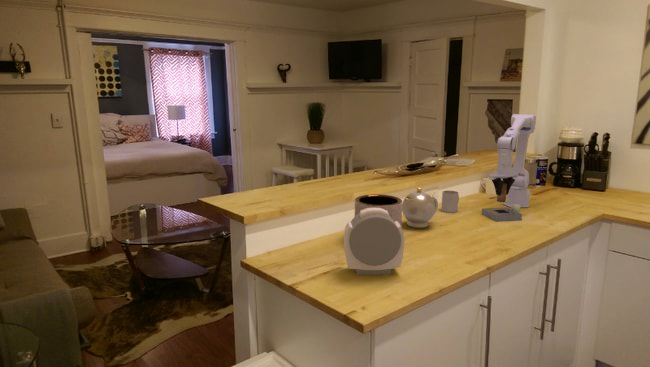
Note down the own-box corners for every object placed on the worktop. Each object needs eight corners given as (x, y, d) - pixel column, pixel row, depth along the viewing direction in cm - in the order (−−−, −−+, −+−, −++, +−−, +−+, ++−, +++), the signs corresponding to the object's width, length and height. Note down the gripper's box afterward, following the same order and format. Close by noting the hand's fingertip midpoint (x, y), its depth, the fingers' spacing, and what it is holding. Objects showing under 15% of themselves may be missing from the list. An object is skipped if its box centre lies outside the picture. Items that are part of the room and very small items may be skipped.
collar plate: (505, 212, 203) (506, 207, 203) (521, 220, 192) (522, 214, 191) (481, 213, 201) (482, 208, 201) (496, 221, 190) (496, 215, 189)
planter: (363, 250, 156) (364, 207, 153) (347, 234, 173) (348, 195, 170) (409, 245, 161) (411, 203, 158) (389, 230, 178) (390, 192, 174)
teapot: (414, 233, 174) (416, 192, 171) (393, 224, 186) (394, 186, 182) (448, 226, 183) (450, 187, 180) (425, 218, 195) (427, 181, 191)
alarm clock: (398, 265, 143) (400, 205, 138) (404, 276, 134) (406, 212, 130) (343, 266, 142) (343, 205, 138) (345, 277, 134) (346, 213, 130)
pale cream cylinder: (516, 212, 204) (517, 203, 203) (521, 214, 200) (521, 205, 200) (509, 212, 203) (510, 204, 202) (513, 214, 200) (514, 206, 199)
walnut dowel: (501, 199, 198) (502, 182, 197) (507, 201, 195) (508, 184, 193) (494, 200, 197) (496, 183, 195) (500, 202, 194) (502, 184, 192)
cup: (438, 210, 207) (439, 192, 205) (451, 207, 213) (452, 189, 211) (451, 213, 201) (452, 194, 199) (464, 210, 207) (465, 191, 205)
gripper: (510, 161, 199) (507, 191, 201) (485, 163, 193) (482, 193, 196) (522, 164, 192) (519, 194, 195) (496, 166, 187) (494, 197, 190)
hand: (501, 194), depth 195 cm, fingers closed on walnut dowel, 4 cm apart
